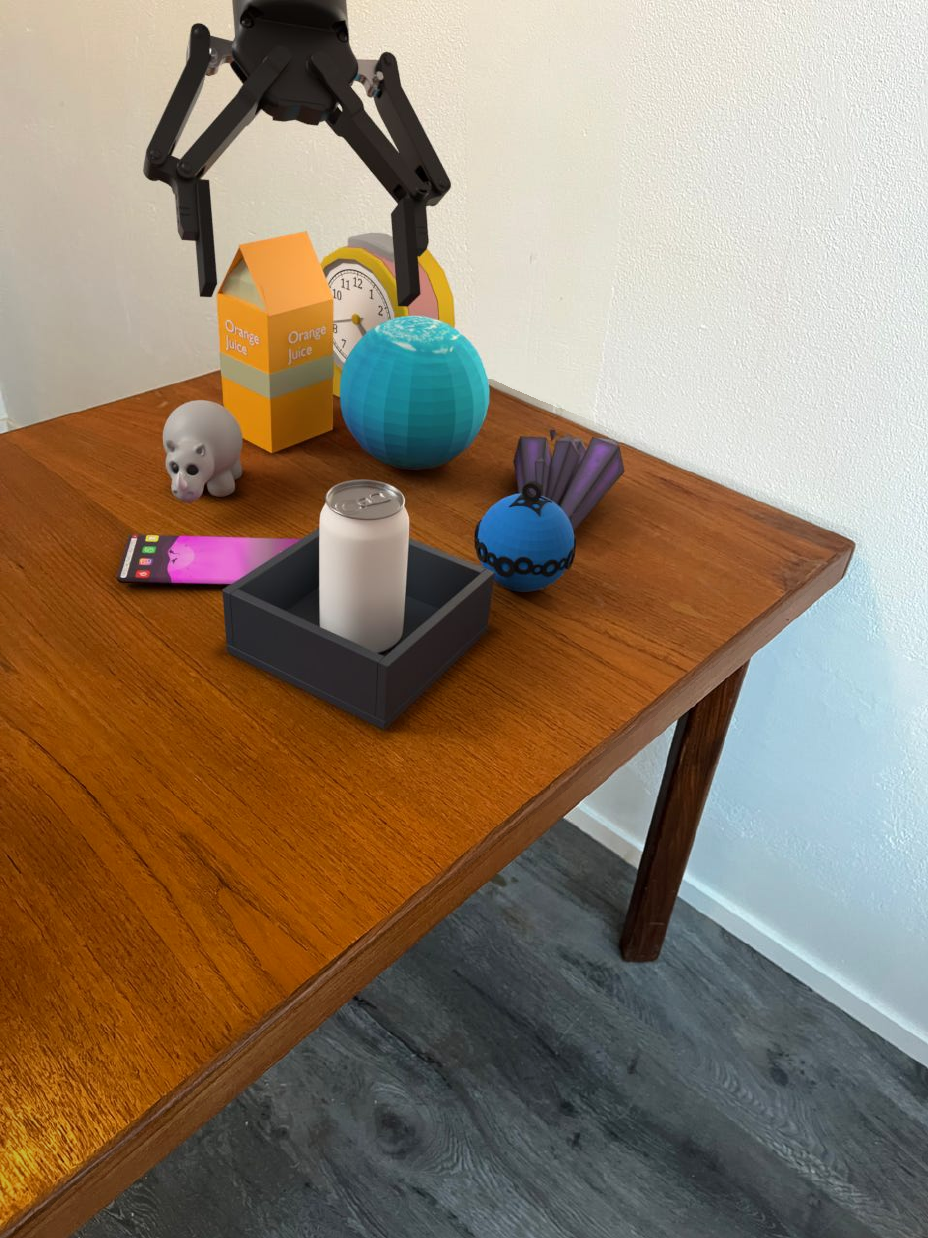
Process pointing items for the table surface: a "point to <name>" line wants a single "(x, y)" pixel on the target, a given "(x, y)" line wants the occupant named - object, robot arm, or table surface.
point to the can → (363, 563)
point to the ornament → (525, 540)
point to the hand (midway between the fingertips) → (312, 296)
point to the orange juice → (277, 342)
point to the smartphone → (195, 558)
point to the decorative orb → (414, 392)
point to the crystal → (569, 471)
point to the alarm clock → (377, 292)
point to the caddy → (338, 668)
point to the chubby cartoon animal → (202, 450)
